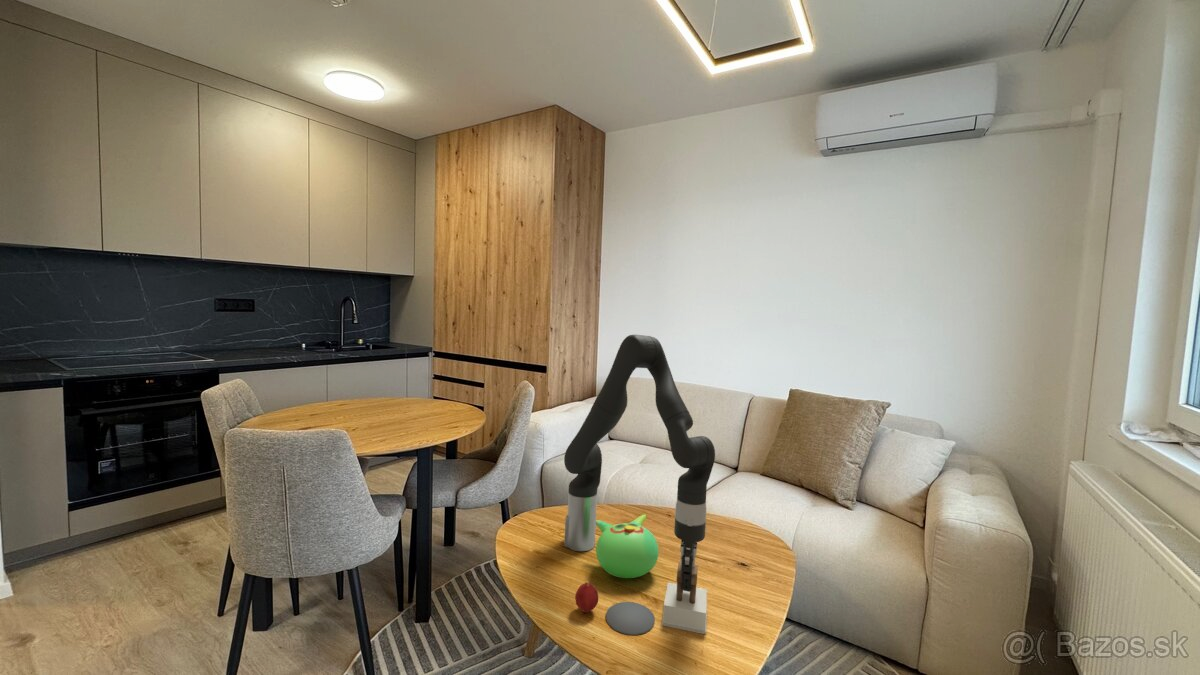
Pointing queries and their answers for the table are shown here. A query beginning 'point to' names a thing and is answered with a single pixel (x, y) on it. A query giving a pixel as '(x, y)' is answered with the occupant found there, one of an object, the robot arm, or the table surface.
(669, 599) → the white square box
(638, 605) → the charcoal felt mat
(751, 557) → the table surface
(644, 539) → the toy bird
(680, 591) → the walnut stool
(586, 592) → the onion
